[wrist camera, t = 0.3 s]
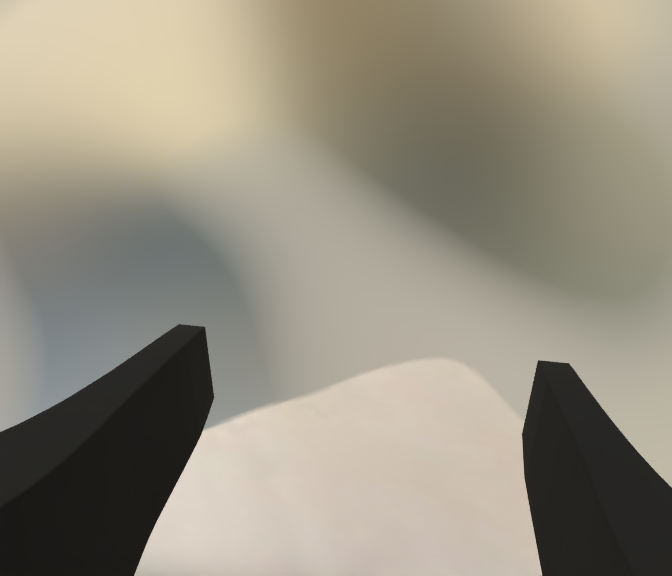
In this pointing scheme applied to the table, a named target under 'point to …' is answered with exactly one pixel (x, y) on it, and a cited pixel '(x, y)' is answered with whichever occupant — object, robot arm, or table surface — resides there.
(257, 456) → the table surface
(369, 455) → the table surface
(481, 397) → the table surface
